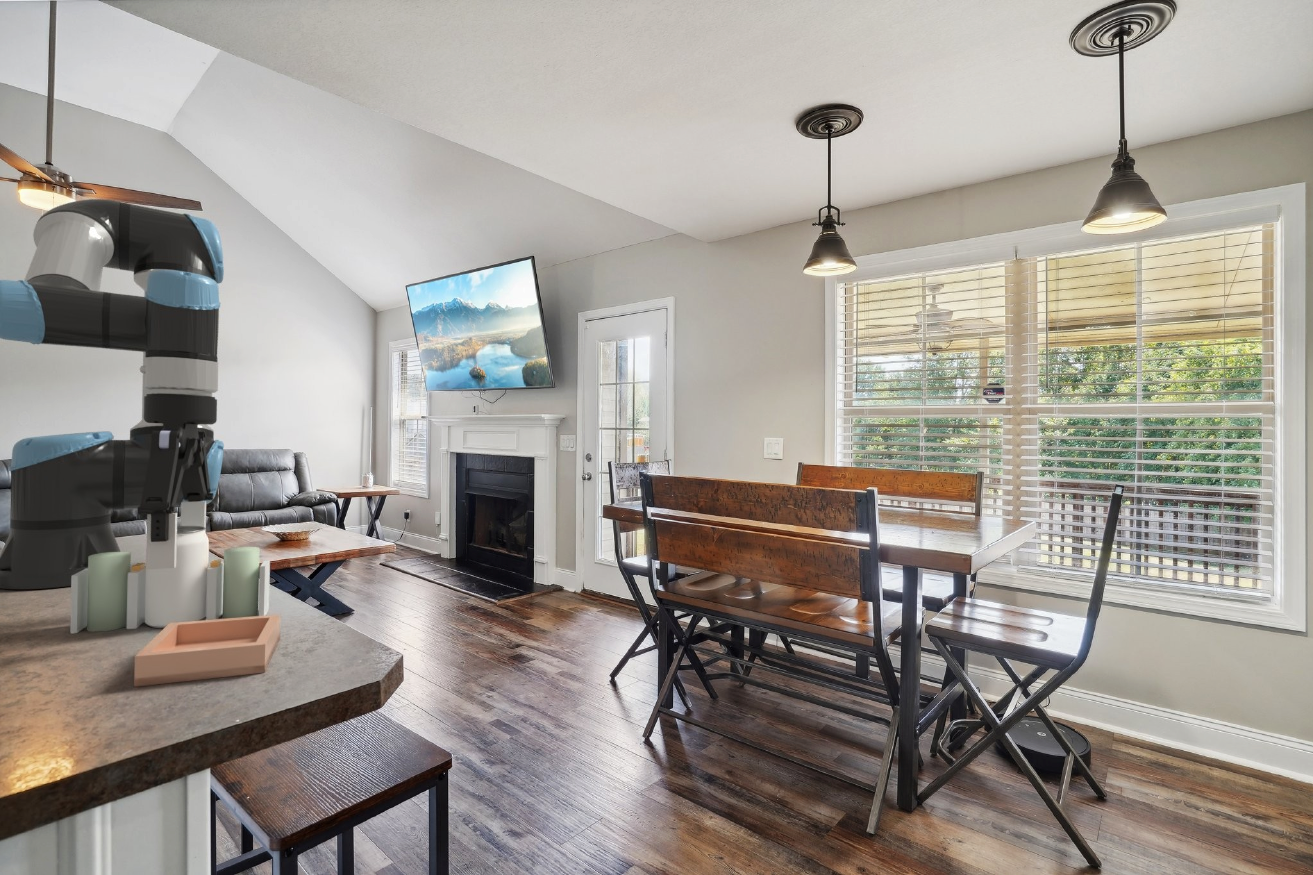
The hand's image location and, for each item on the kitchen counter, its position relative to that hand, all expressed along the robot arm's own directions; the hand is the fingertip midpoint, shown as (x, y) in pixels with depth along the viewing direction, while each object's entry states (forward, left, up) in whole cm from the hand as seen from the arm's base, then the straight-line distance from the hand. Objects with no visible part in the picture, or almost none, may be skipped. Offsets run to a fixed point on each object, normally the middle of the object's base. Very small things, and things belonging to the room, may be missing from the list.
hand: (178, 557), depth 81 cm
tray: (+17, +7, -8) cm, 20 cm away
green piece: (0, +7, -8) cm, 11 cm away
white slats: (0, 0, -8) cm, 8 cm away
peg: (0, -7, -8) cm, 11 cm away
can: (0, 0, -9) cm, 9 cm away
